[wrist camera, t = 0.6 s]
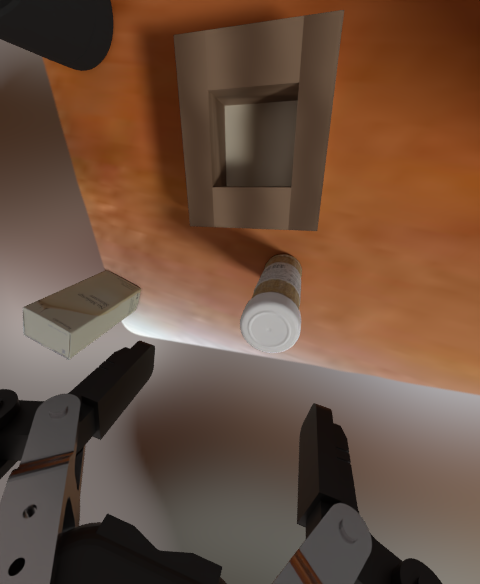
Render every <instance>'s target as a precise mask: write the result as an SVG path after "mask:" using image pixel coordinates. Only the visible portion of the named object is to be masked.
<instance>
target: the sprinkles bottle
mask: <svg viewBox="0 0 480 584" xmlns="http://www.w3.org/2000/svg"><path fill="white" fill-rule="evenodd" d="M301 276H302V268H301V265H300V263H299V261H298V260H297V259H296V258H294V257H293V256H290V255H287V254H280V255H276V256H274V257H272V258H271V259H270V260H269V261H268V262H267V263H266V266H265V269H264V271H263V273H262V275H261V277H260V279H259V281H258V283H257V285H256V288H255V290H254V294H253V296H252V299H251V300H250V301H249V302H248V303H247V305H246V307H245V309H244V311H243V314H242V316H241V320H240V329H241V333H242V335H243V337H244V339H245V340H246V341H247V342H248V343H249V344H250V345H251V346H252V347H254V348H255V349H257V350H260V351H262V352H266V353H279V352H283V351H286V350H288V349H289V348H291V347H292V346H293V345H294V344H295V343H296V341H297V340H298V338H299V335H300V330H301V315H300V311H299V306H300V293H301Z"/></svg>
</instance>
